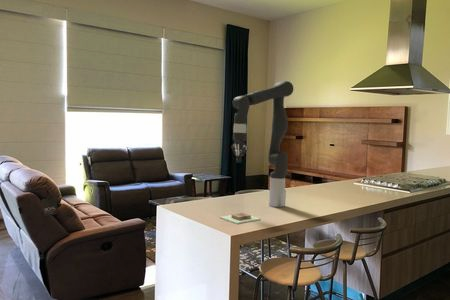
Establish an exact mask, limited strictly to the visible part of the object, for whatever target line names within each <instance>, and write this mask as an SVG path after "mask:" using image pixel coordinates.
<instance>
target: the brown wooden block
mask: <svg viewBox="0 0 450 300" xmlns="http://www.w3.org/2000/svg"><path fill="white" fill-rule="evenodd" d="M231 215H232V216H231V218H233V219H236V220H244V219H250V218H251V216H252V215H251V214H249V213H245V212H240V213H233V214H231Z"/></svg>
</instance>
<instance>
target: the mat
mask: <svg viewBox="0 0 450 300" xmlns="http://www.w3.org/2000/svg"><path fill="white" fill-rule="evenodd" d="M232 215H233V214H230V215H223V216H219V218H220V219H221V220H225V221H228V222H230V223H233V224H235V225H240V224H244V223H249V222H250V223H251V222H256V221H260V220H262V219H261V218H260V217H256V216H254V215H251V218H250V219H244V220H236V219H233V218H231V216H232Z"/></svg>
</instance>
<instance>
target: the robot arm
mask: <svg viewBox="0 0 450 300" xmlns="http://www.w3.org/2000/svg"><path fill="white" fill-rule="evenodd" d="M293 92H294V85H293V83H291V82H290V81H287V80H284V81H283V80H282V81H277V82H276V83H275V84H274V85H273V87H271V88H265V89H260V90H257V91H253V92H251V93H247V94H244V95H239V96H236V97H234V98H233V100H232V107H233V108H234V109H237V112H236V113H234V120H233V127H232V128H233V134H232V141H234V142H233V144H231V145H230V148H231V150H232V153H233V154H234V155H235V157H236V163H242V159H243V157H242V156H245V154H246V152H247V151H248V149H249V146H247V145H246V141H247V132H248V131H247V127H248V126H247V122H248V120H247V116H248V113H249V109H250V106H256V105H258V104H261V103H264V102H266V101H270V100H273V105H272V107H273V109H272V122H271V135H270V145H269V150H268V156H267V157H268V159H267V160H268V163H269V165H270V166H273V167H274V170H273V171H271V172H270V173H269V194H268V195H269V197H268V198H269V199H268V205H269V206H270V207H273V208H282V207H285V206H286V197H287V195H286V194H287V190H286V175H287V173H288V166H289V165H288V163H289V158H288V157H289V156H288V154H287V153H286V152H285V151H280V150H281V143H282V141H283V138H284V137H285V135H286V134H287V131H288V115H287V112H286V109H285V105H284V102H285V98H287V97H290V96H291V95H292V94H293Z"/></svg>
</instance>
